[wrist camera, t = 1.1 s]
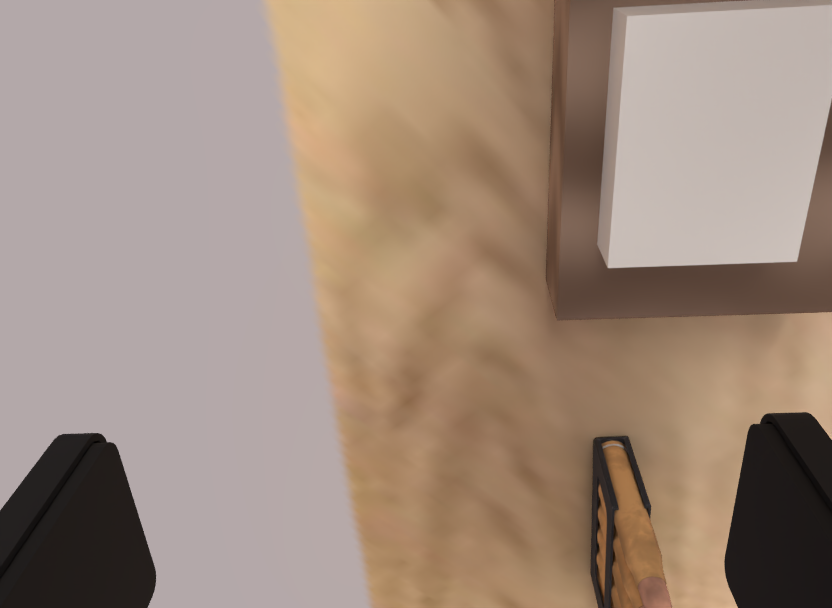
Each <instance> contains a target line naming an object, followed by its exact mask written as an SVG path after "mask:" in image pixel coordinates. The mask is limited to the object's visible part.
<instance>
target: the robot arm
mask: <svg viewBox="0 0 832 608" xmlns="http://www.w3.org/2000/svg"><path fill="white" fill-rule="evenodd" d="M725 574H726V579H727V582H728V585H729V588H730V590H731V592H732V595H733V597H734V599H735V602H736V604H737V606H738V608H832V440H831V439H830V437H829V436H828V435H827V433H826V432H825V431H824V429H823V428H822V427H821V425H820V424H819V423H818V421H817V420H816V419H815V418H814V417H813V416H812V415H811V414H809V413H806V412H803V413H769V414H766V415H764V416H763V418H762V419H761V422H760V424H753V425H751V426H750V428H749V431H748V435H747V440H746V446H745V451H744V457H743V462H742V467H741V473H740V478H739V484H738V489H737V495H736V500H735V505H734V511H733V516H732V522H731V527H730V533H729V538H728V544H727V549H726V554H725ZM155 583H156V571H155V567H154V563H153V560H152V557H151V554H150V551H149V548H148V544H147V541H146V538H145V535H144V531H143V528H142V525H141V522H140V519H139V516H138V513H137V509H136V506H135V503H134V499H133V497H132V493H131V490H130V487H129V483H128V480H127V477H126V474H125V471H124V467H123V464H122V461H121V458H120V455H119V452H118V449H117V447H116V445H115V444H114V443H111V442H106V439H105V437H104V436H103V435H102V434H99V433H84V434H62V435H59V436H58V437H57V438H56V439H54V441H53V442H52V443H51V444H50V446H49V447H48V448H47V450H46V451H45V452H44V454H43V455H42V456H41V458H40V459H39V460H38V462H37V463H36V464H35V466H34V467H33V468H32V469H31V471H30V472H29V473H28V475H27V476H26V477H25V479H24V480H23V481H22V483H21V484H20V485H19V487H18V488H17V489H16V491H15V492H14V493H13V495H12V496H11V497H10V498H9V500H8V501H7V502H6V504H5V505H4V506H3V508H2V509H1V510H0V608H147V607H148V605H149V603H150V600H151V598H152V596H153V593H154V590H155Z"/></svg>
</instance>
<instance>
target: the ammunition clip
mask: <svg viewBox="0 0 832 608" xmlns="http://www.w3.org/2000/svg"><path fill="white" fill-rule="evenodd" d="M650 513H651V505H650V502H649V499H648V496H647V493H646V490H645V487H644V483H643V480H642V477H641V474H640V471H639V468H638V465H637V462H636V459H635V456H634V453H633V450H632V447H631V444H630V441H629V438H628V437H627V436H624V437H606V438H595V439H594V444H593V491H592V538H591V577H592V581H593V586H594V590H595V595H596V599H597V603H598V608H672V605H671V600H670V596H669V593H668V590H667V586H666V580H665V576H664V573H663V567H662V556H661V552H660V549H659V546H658V543H657V540H656V537H655V533H654V530H653V527H652V524H651V521H650Z"/></svg>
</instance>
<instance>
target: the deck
mask: <svg viewBox="0 0 832 608" xmlns="http://www.w3.org/2000/svg"><path fill="white" fill-rule="evenodd" d="M727 1H745V0H555V13H554V44H553V75H552V106H551V137H550V168H549V199H548V230H547V261H546V281H547V285H548V288H549V292H550V296H551V300H552V303H553V307H554V311H555V315H556V318H557V320H582V319H615V318H649V317H682V316H716V315H749V314H783V313H817V312H832V100H831V105H830V110H829V114H828V119H827V124H826V128H825V133H824V138H823V142H822V147H821V152H820V156H819V161H818V166H817V170H816V175H815V180H814V185H813V189H812V194H811V199H810V203H809V208H808V213H807V217H806V222H805V227H804V231H803V236H802V241H801V245H800V250H799V255H798V259H797V262H774V263H745V264H716V265H686V266H657V267H627V268H607V265H606V263H605V261H604V259H603V256H602V254H601V252H600V250H599V247H598V245H597V241H598V227H599V212H600V197H601V183H602V168H603V153H604V138H605V124H606V109H607V94H608V80H609V65H610V50H611V36H612V21H613V8H618V7H636V6H654V5H673V4H691V3H709V2H727Z"/></svg>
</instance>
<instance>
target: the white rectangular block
mask: <svg viewBox="0 0 832 608" xmlns="http://www.w3.org/2000/svg"><path fill="white" fill-rule="evenodd" d="M831 100H832V0H745V1H727V2H709V3H691V4H673V5H654V6H636V7H618V8H613V21H612V36H611V50H610V65H609V80H608V94H607V109H606V124H605V138H604V153H603V168H602V183H601V197H600V212H599V227H598V241H597V245H598V247H599V250H600V252H601V254H602V256H603V259H604V261H605V263H606V265H607V268H627V267H657V266H686V265H716V264H745V263H774V262H797V259H798V255H799V250H800V245H801V241H802V236H803V231H804V227H805V222H806V217H807V213H808V208H809V203H810V199H811V194H812V189H813V185H814V180H815V175H816V170H817V166H818V161H819V156H820V152H821V147H822V142H823V138H824V133H825V128H826V124H827V119H828V114H829V110H830V105H831Z"/></svg>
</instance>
